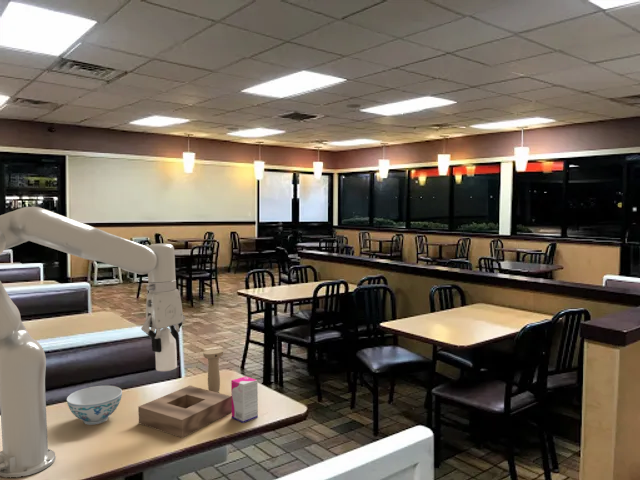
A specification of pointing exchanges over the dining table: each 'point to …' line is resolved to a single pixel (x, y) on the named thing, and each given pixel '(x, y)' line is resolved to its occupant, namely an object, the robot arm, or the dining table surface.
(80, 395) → the chinaware
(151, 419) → the well block
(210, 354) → the handle
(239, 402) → the supplement box
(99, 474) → the dining table surface
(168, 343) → the white rounded piece
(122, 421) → the dining table surface
